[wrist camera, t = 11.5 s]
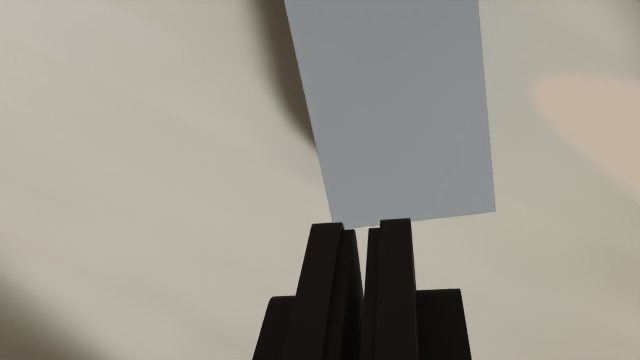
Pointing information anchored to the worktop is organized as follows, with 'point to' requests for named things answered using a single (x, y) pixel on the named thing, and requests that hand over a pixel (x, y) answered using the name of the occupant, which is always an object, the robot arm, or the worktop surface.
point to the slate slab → (396, 106)
